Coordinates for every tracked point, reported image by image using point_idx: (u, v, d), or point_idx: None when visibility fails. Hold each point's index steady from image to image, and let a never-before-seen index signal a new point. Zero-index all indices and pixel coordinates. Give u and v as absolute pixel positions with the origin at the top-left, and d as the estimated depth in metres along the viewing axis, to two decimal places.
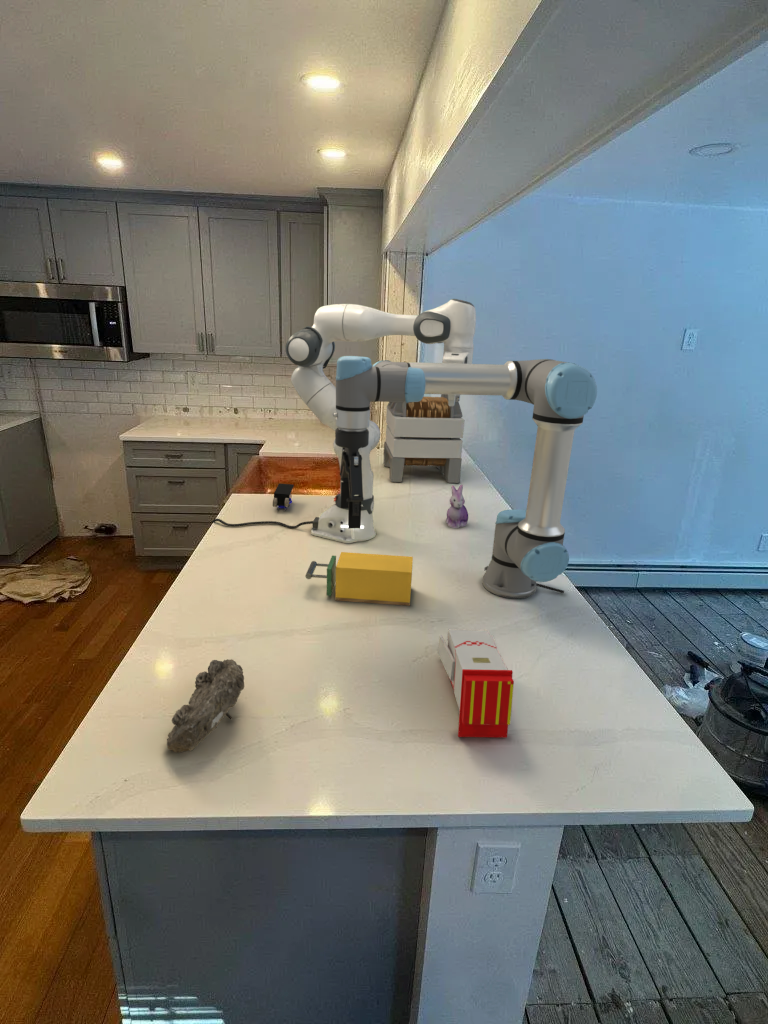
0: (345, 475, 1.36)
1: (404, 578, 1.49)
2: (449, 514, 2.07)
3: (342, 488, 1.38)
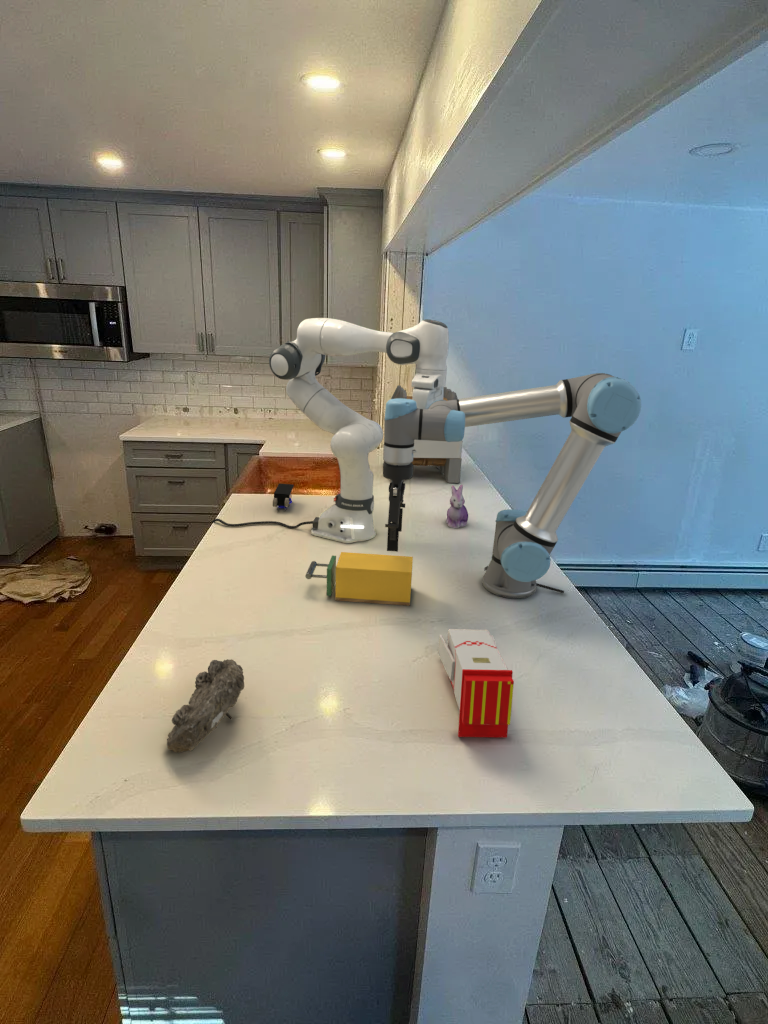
0: None
1: (404, 578, 1.49)
2: (449, 514, 2.07)
3: None
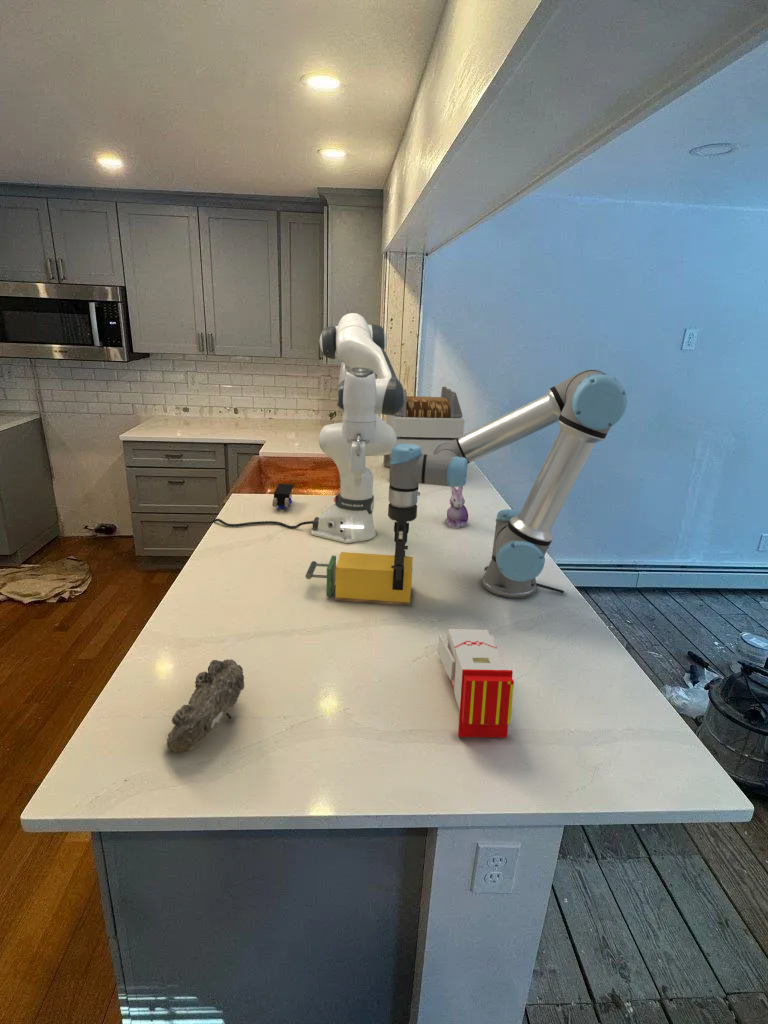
0: None
1: (404, 578, 1.49)
2: (449, 514, 2.07)
3: None
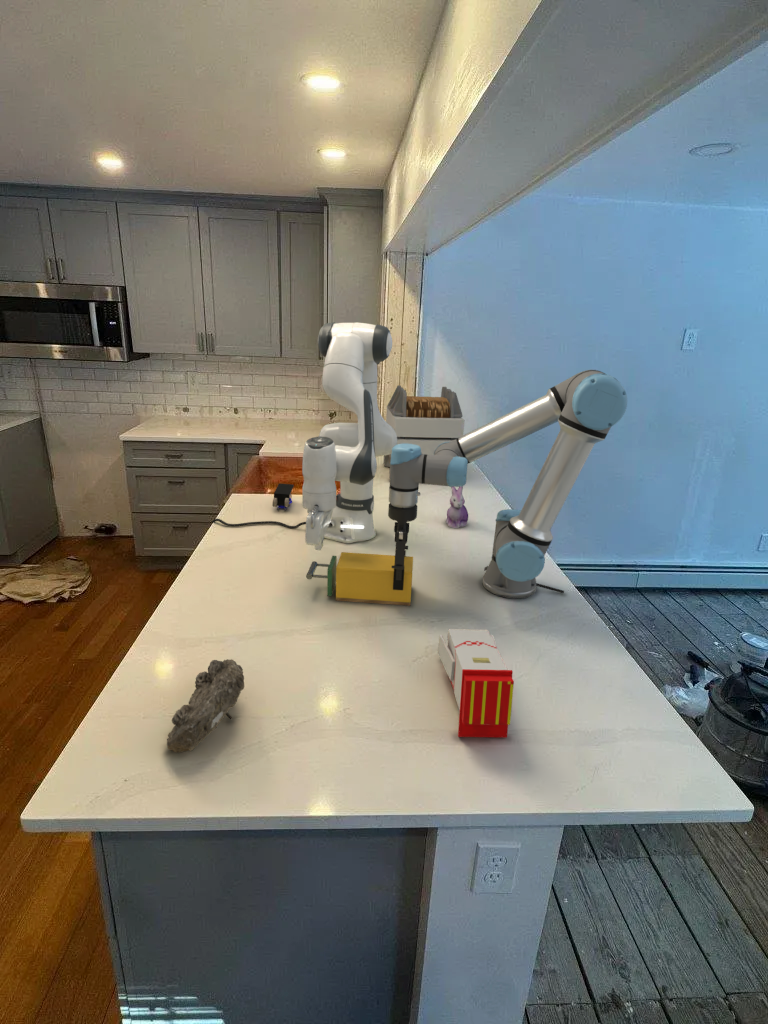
0: None
1: (404, 578, 1.49)
2: (449, 514, 2.07)
3: None
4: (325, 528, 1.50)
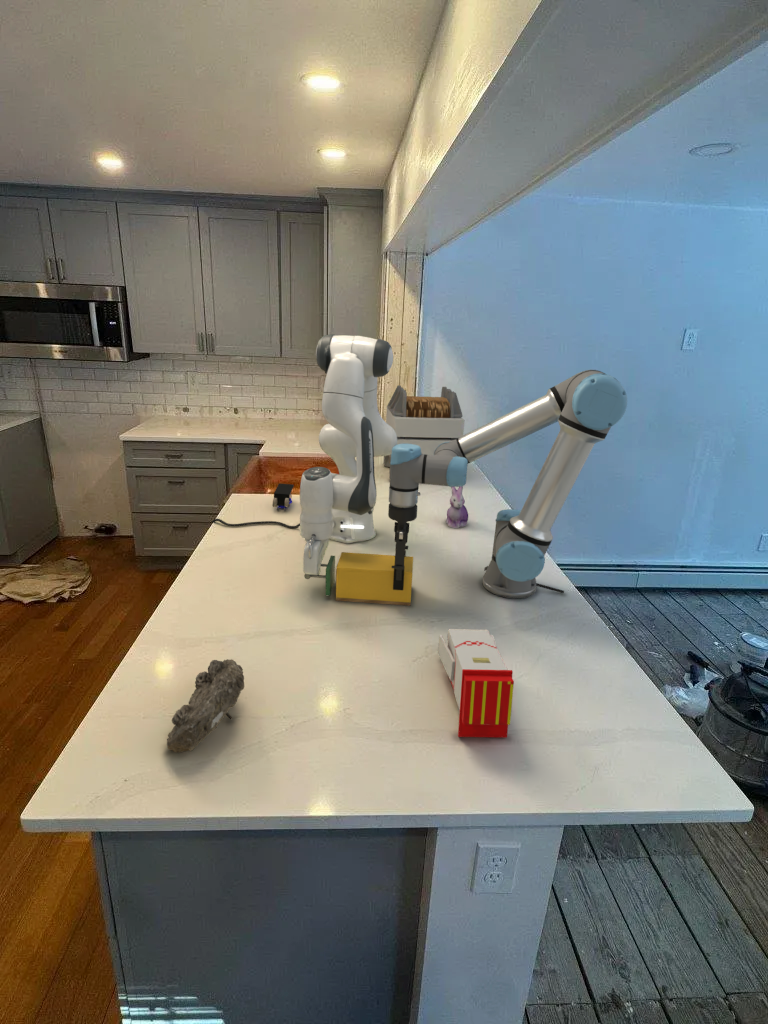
0: None
1: (405, 578, 1.49)
2: (449, 514, 2.07)
3: None
4: (322, 555, 1.54)
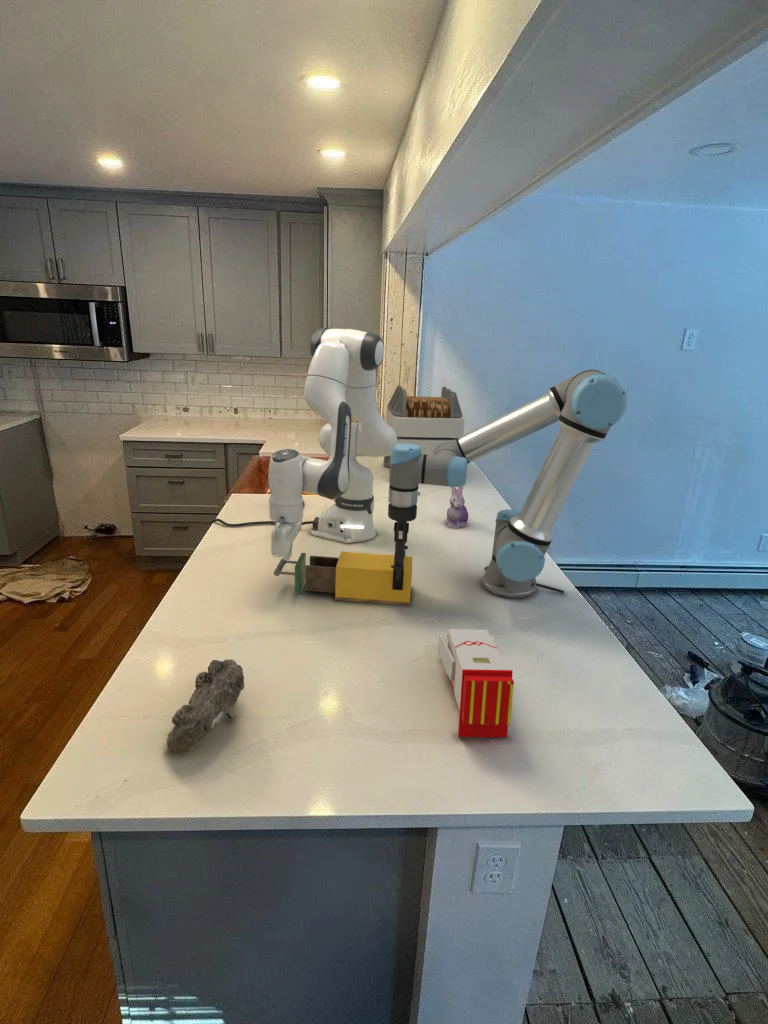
0: None
1: (404, 578, 1.49)
2: (449, 514, 2.07)
3: None
4: (293, 539, 1.53)
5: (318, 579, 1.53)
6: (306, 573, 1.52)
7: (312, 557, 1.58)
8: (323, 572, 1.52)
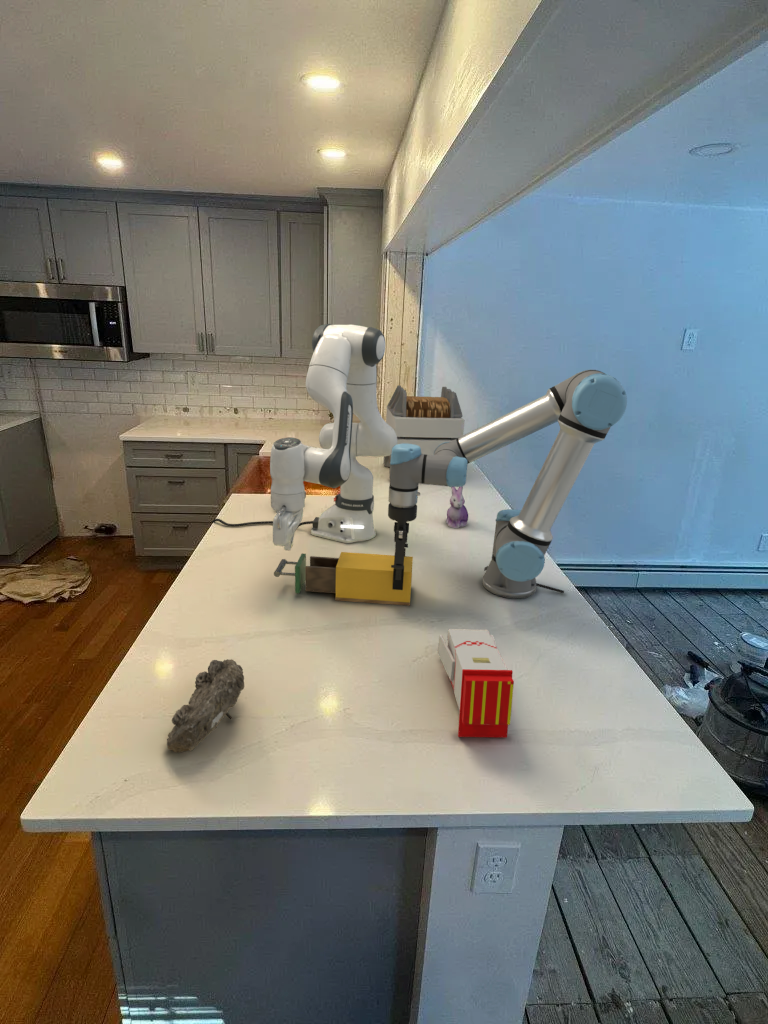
0: None
1: (404, 578, 1.49)
2: (449, 514, 2.07)
3: None
4: (294, 528, 1.51)
5: (318, 579, 1.53)
6: (306, 574, 1.52)
7: (312, 558, 1.58)
8: (323, 573, 1.52)
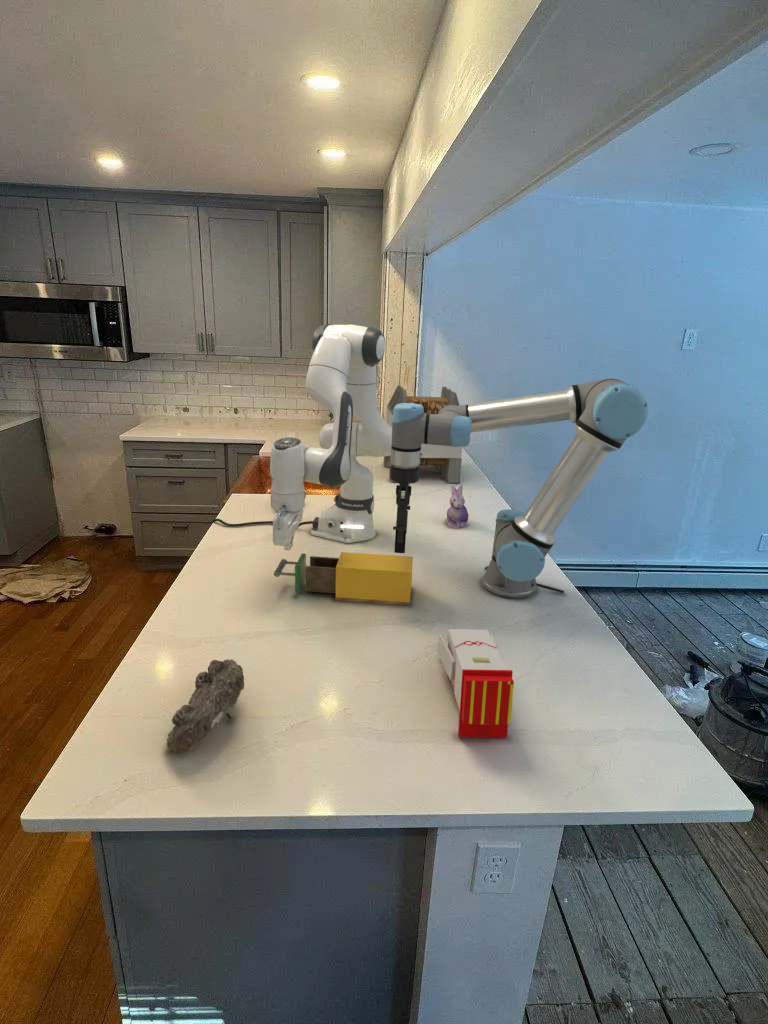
0: None
1: (404, 578, 1.49)
2: (449, 514, 2.07)
3: None
4: (294, 528, 1.51)
5: (318, 579, 1.53)
6: (306, 574, 1.52)
7: (312, 558, 1.58)
8: (323, 573, 1.52)
